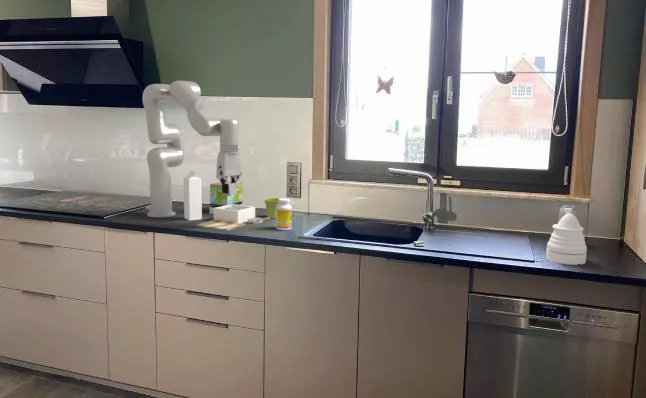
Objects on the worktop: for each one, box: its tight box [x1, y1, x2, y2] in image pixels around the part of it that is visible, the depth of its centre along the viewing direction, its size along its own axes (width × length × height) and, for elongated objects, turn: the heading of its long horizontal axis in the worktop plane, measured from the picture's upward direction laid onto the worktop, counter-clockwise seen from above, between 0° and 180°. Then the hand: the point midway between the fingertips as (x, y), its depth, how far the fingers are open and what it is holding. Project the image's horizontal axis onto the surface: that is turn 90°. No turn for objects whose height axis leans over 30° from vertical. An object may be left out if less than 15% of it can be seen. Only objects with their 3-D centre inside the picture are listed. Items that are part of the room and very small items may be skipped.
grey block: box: [225, 207, 238, 211], centre depth 248 cm, size 4×4×5 cm
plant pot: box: [263, 197, 281, 220], centre depth 255 cm, size 9×9×9 cm
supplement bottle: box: [275, 198, 293, 231], centre depth 230 cm, size 7×7×13 cm
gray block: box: [222, 183, 237, 196], centre depth 230 cm, size 4×4×5 cm
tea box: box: [209, 180, 244, 215], centre depth 264 cm, size 15×10×15 cm
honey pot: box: [545, 208, 588, 266], centre depth 191 cm, size 13×13×18 cm
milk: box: [183, 170, 203, 221], centre depth 245 cm, size 6×6×22 cm
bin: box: [213, 204, 256, 224], centre depth 246 cm, size 13×13×6 cm
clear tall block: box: [558, 204, 577, 222], centre depth 217 cm, size 6×6×15 cm
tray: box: [195, 219, 246, 231], centre depth 233 cm, size 16×13×1 cm
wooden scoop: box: [246, 216, 271, 225], centre depth 244 cm, size 11×4×2 cm, turn 138°
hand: (229, 192), depth 230 cm, fingers closed on gray block, 3 cm apart
